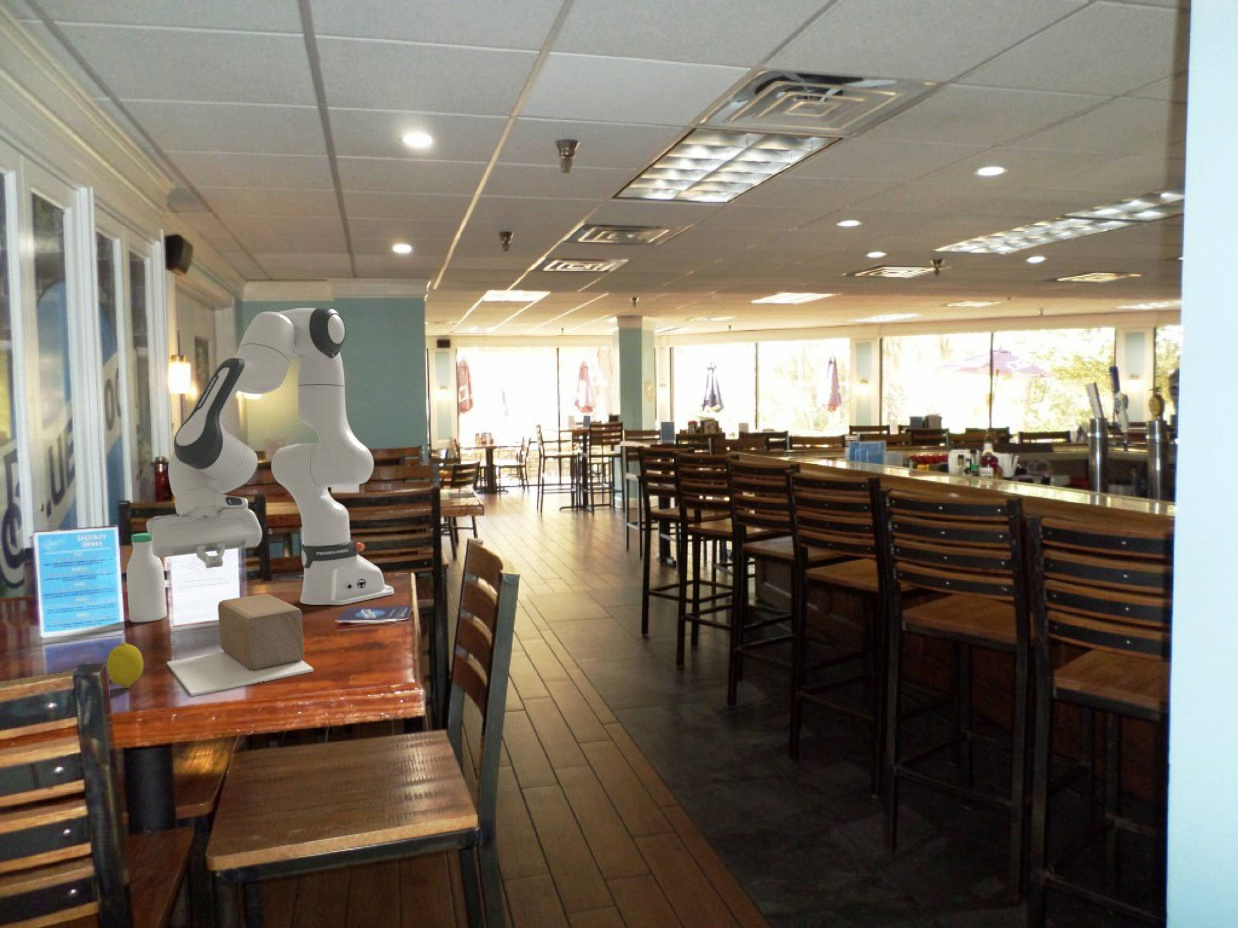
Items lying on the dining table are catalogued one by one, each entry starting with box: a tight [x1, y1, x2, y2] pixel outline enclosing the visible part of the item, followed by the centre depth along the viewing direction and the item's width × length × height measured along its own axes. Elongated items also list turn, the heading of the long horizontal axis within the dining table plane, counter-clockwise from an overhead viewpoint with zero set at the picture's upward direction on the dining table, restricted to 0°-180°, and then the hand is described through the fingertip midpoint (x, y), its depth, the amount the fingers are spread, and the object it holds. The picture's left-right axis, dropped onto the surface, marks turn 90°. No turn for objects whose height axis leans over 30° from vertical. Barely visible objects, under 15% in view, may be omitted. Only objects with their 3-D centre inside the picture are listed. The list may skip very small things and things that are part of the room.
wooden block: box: [217, 593, 305, 670], centre depth 166 cm, size 10×10×20 cm
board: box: [166, 651, 314, 697], centre depth 160 cm, size 20×24×1 cm
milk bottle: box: [126, 532, 168, 623], centre depth 202 cm, size 8×8×20 cm
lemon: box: [106, 642, 144, 689], centre depth 150 cm, size 6×6×8 cm
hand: (214, 565), depth 172 cm, fingers closed
